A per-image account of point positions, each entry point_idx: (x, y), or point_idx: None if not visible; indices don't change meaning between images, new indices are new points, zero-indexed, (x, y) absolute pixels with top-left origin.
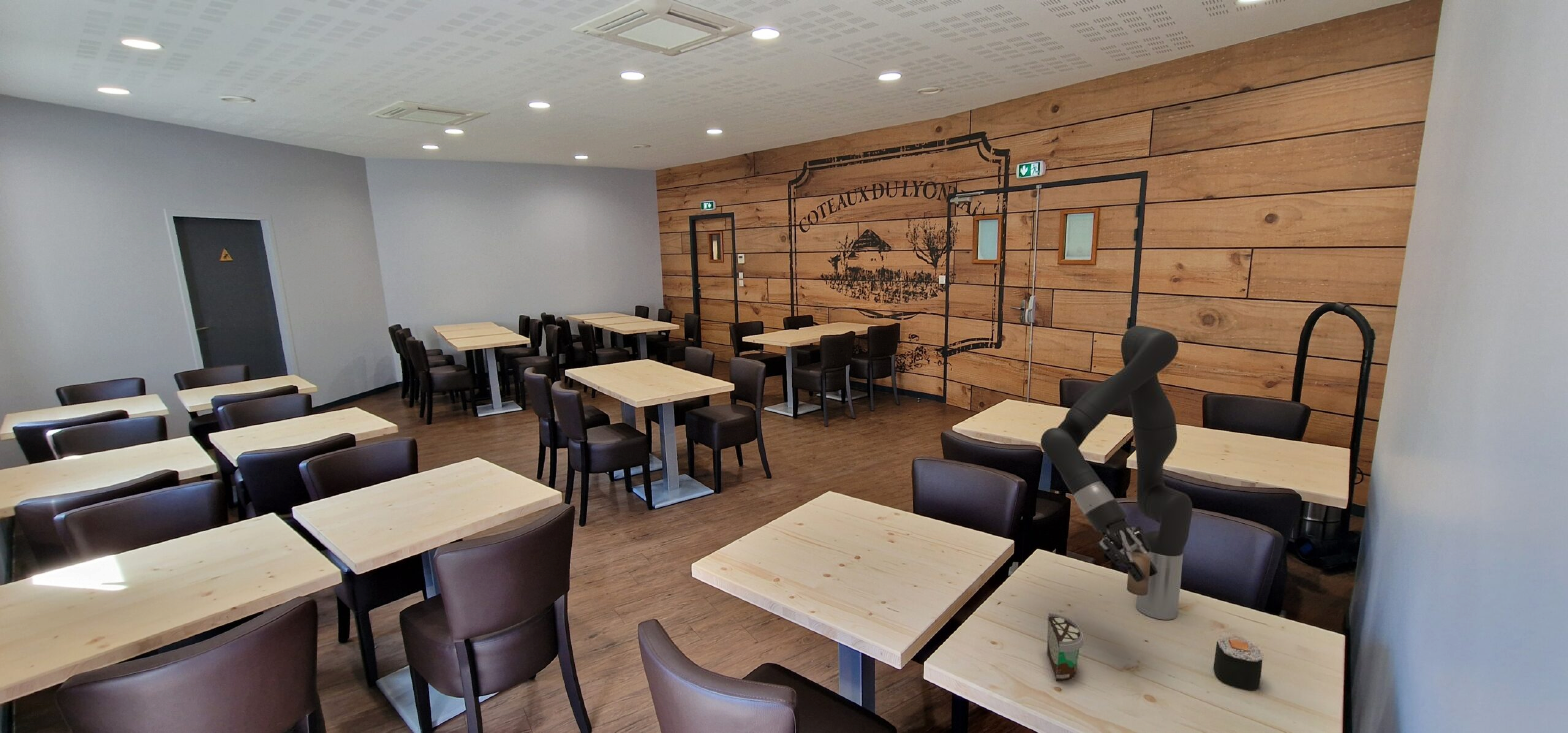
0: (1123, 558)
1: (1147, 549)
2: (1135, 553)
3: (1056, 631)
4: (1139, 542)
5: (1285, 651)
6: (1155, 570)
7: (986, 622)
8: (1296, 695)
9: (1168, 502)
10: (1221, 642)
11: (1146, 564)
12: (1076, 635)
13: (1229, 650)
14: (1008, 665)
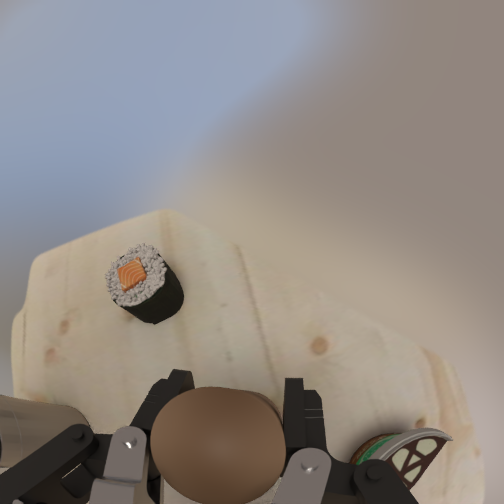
0: (383, 477)
1: (91, 441)
2: (191, 486)
3: (418, 476)
4: (105, 494)
5: (62, 280)
6: (180, 375)
7: None
8: (143, 240)
9: None
10: (136, 298)
11: (246, 393)
12: (395, 456)
13: (152, 280)
14: (429, 488)
